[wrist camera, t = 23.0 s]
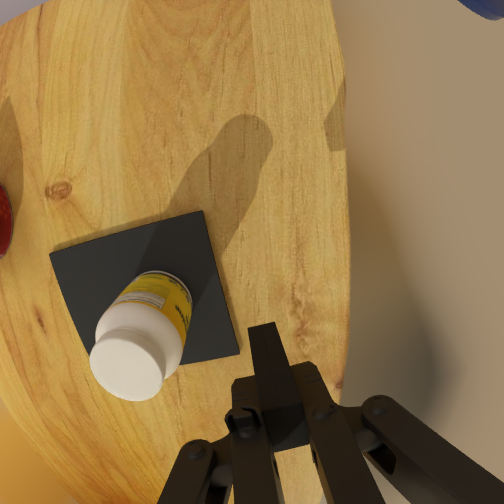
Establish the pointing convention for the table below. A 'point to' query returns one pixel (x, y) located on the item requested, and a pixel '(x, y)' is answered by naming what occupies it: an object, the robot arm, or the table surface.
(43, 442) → the table surface
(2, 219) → the canned food
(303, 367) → the robot arm
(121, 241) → the mat
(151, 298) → the pill bottle
